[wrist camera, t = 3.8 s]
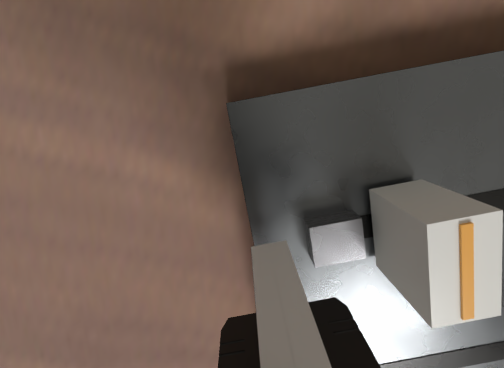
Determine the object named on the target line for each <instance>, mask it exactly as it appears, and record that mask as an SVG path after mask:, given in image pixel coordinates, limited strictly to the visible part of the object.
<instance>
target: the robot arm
mask: <svg viewBox="0 0 504 368" xmlns="http://www.w3.org/2000/svg"><path fill="white" fill-rule="evenodd" d="M251 253H252V266H253V279H254V291H255V304H256V313H253V314H248V315H242V316H237V317H231V318H228V320H227V321H226V323H225V325H224V326H223V328H222V330H221V338H220V350H219V361H218V368H381V367H380V365H379V363H378V361H377V359H376V358H375V356H374V354H373V352H372V350H371V348H370V347H369V345H368V343H367V341H366V339H365V338H364V336H363V334H362V332H361V330H359V327H358V325H357V323H356V321H355V320H354V318H353V316H352V314H351V312H350V310H349V309H348V307H347V305H345V304H344V303H343V302H341V301H340V300H339V299H337V298H336V297H333V298H328V299H322V300H317V301H311V302H308V300H307V297H306V294H305V292H304V289H303V286H302V283H301V280H300V278H299V275H298V272H297V269H296V266H295V264H294V261H293V258H292V255H291V252H290V250H289V247H288V244H287V241H286V240H285V241H280V242H274V243H269V244H263V245H258V246H253V247H251Z"/></svg>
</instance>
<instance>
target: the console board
mask: <svg viewBox="0 0 504 368" xmlns="http://www.w3.org/2000/svg"><path fill="white" fill-rule="evenodd" d="M226 105H227V110H228V115H229V120H230V125H231V130H232V135H233V140H234V145H235V150H236V155H237V160H238V165H239V170H240V176H241V181H242V186H243V191H244V196H245V201H246V206H247V211H248V216H249V221H250V226H251V231H252V236H253V241H254V246H258V245H263V244H269V243H274V242H280V241H285V240H286V241H287V244H288V247H289V250H290V252H291V255H292V258H293V261H294V264H295V266H296V269H297V272H298V275H299V278H300V280H301V283H302V286H303V289H304V292H305V294H306V297H307V300H308V302H311V301H317V300H322V299H328V298H333V297H336V298H337V299H339V300H340V301H341V302H343V303H344V304H345V305H347V307H348V309H349V310H350V312H351V314H352V316H353V318H354V320H355V321H356V323H357V325H358V327H359V330H361V332H362V334H363V336H364V338H365V339H366V341H367V343H368V345H369V347H370V348H371V350H372V352H373V354H374V356H375V358H376V359H377V361H378V363H379V365H380V367H381V368H504V51H499V52H494V53H488V54H483V55H478V56H473V57H467V58H462V59H457V60H452V61H446V62H441V63H436V64H430V65H425V66H420V67H415V68H409V69H404V70H399V71H394V72H388V73H383V74H378V75H373V76H367V77H362V78H357V79H351V80H346V81H341V82H336V83H330V84H325V85H320V86H315V87H309V88H304V89H299V90H294V91H288V92H283V93H278V94H272V95H267V96H262V97H257V98H251V99H246V100H241V101H236V102H230V103H226ZM421 179H422V180H425V181H427V182H430V183H433V184H435V185H438V186H441V187H443V188H446V189H449V190H451V191H454V192H456V193H459V194H462V195H464V196H467V197H470V198H472V199H475V200H477V201H480V202H483V203H485V204H488V205H491V206H493V207H496V208H499V209H501V210H503V235H502V296H501V316H496V317H491V318H486V319H480V320H475V321H470V322H465V323H459V324H454V325H449V326H444V327H438V328H433V329H432V328H431V327H430V326H429V325H428V324H427V323H426V322H425V320H424V319H423V318H422V317H421V316H420V315H419V314H418V313H417V311H416V310H415V309H414V308H413V307H412V306H411V305H410V303H409V302H408V301H407V300H406V299H405V298H404V297H403V296H402V294H401V293H400V292H399V291H398V290H397V289H396V288H395V287H394V285H393V284H392V283H391V282H390V281H389V280H388V279H387V277H386V276H385V275H384V274H383V273H382V272H381V271H380V270H379V268H378V267H377V266H376V258H375V248H374V237H373V227H372V216H371V205H370V195H369V189H374V188H379V187H384V186H389V185H395V184H400V183H405V182H410V181H416V180H421Z"/></svg>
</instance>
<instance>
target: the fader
mask: <svg viewBox="0 0 504 368" xmlns="http://www.w3.org/2000/svg"><path fill="white" fill-rule="evenodd" d="M369 195H370V205H371V216H372V227H373V237H374V248H375V258H376V266H377V267H378V268H379V270H380V271H381V272H382V273H383V274H384V275H385V276H386V277H387V279H388V280H389V281H390V282H391V283H392V284H393V285H394V287H395V288H396V289H397V290H398V291H399V292H400V293H401V294H402V296H403V297H404V298H405V299H406V300H407V301H408V302H409V303H410V305H411V306H412V307H413V308H414V309H415V310H416V311H417V313H418V314H419V315H420V316H421V317H422V318H423V319H424V320H425V322H426V323H427V324H428V325H429V326H430V327H431V328H432V329H433V328H438V327H444V326H449V325H454V324H459V323H465V322H470V321H475V320H480V319H486V318H491V317H496V316H501V296H502V235H503V210H501V209H499V208H496V207H493V206H491V205H488V204H485V203H483V202H480V201H477V200H475V199H472V198H470V197H467V196H464V195H462V194H459V193H456V192H454V191H451V190H449V189H446V188H443V187H441V186H438V185H435V184H433V183H430V182H427V181H425V180H422V179H421V180H416V181H410V182H405V183H400V184H395V185H389V186H384V187H379V188H374V189H369Z"/></svg>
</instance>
